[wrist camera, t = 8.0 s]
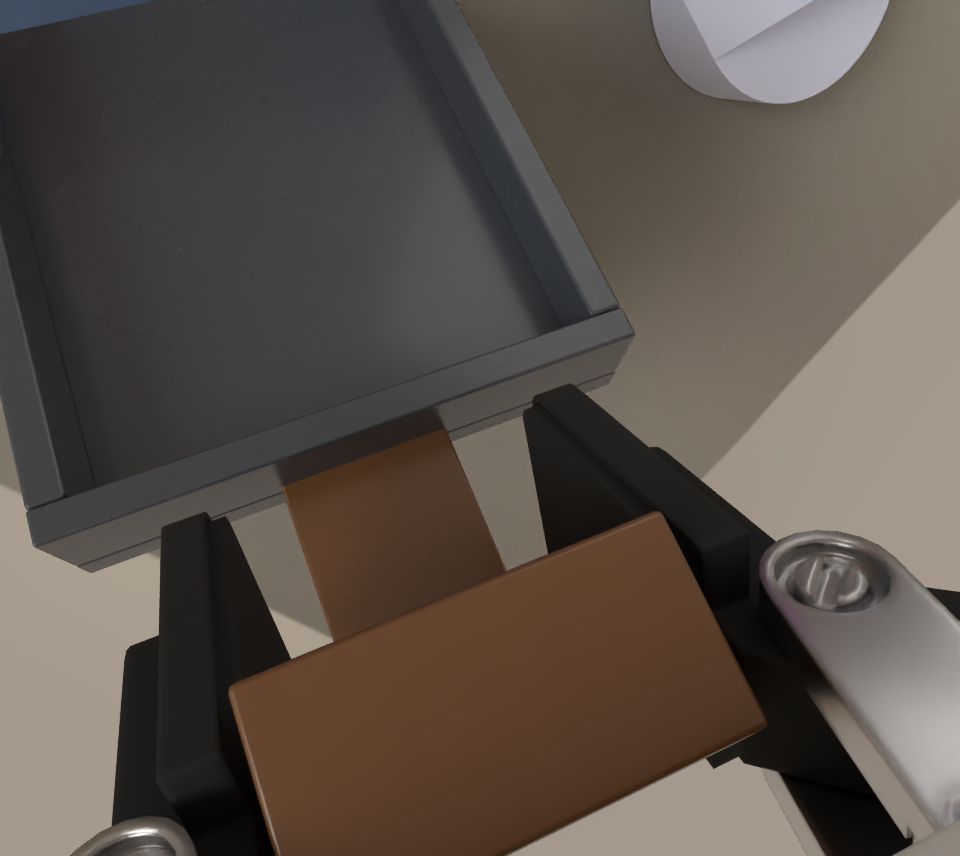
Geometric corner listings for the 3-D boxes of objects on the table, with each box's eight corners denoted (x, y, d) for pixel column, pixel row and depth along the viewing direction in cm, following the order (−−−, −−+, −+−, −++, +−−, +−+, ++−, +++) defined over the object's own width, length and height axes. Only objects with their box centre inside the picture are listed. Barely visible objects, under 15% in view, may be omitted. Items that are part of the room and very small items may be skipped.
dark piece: (745, 652, 13) (1053, 587, 7) (174, 919, 11) (-156, 1184, 5) (396, -31, 19) (382, -427, 12) (-33, 66, 17) (-320, -348, 10)
